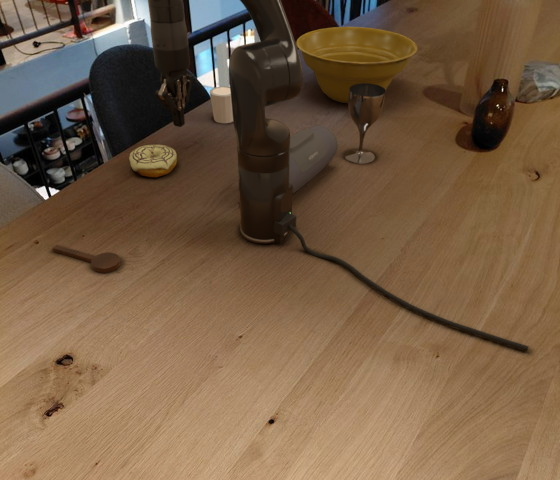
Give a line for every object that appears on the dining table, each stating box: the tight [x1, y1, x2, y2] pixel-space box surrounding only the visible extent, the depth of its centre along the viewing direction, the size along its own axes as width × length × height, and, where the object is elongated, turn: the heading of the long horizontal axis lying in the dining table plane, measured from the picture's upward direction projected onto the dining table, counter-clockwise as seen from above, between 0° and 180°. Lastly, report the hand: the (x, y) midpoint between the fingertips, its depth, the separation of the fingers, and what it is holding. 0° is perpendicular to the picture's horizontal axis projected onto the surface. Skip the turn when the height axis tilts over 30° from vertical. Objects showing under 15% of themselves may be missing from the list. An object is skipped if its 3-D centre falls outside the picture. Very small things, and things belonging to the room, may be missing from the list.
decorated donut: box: [128, 143, 178, 178], centre depth 128 cm, size 10×11×4 cm
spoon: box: [52, 244, 121, 274], centre depth 104 cm, size 14×5×1 cm, turn 67°
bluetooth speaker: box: [289, 124, 339, 194], centre depth 122 cm, size 23×9×10 cm, turn 149°
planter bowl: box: [295, 26, 418, 104], centre depth 157 cm, size 32×32×13 cm
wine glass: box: [344, 83, 387, 164], centre depth 129 cm, size 8×8×15 cm
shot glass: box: [209, 86, 233, 124], centre depth 146 cm, size 7×7×7 cm
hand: (179, 125), depth 132 cm, fingers closed
